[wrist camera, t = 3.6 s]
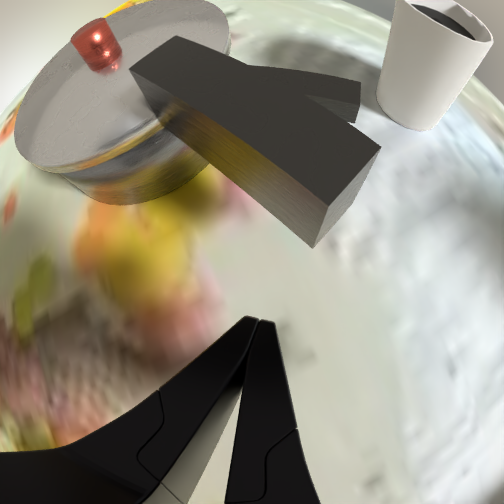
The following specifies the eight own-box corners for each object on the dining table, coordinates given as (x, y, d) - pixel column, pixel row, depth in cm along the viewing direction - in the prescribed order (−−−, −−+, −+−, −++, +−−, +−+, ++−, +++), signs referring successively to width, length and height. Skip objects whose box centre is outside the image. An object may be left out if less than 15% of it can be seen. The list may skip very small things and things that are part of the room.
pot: (330, 248, 17) (353, 210, 11) (25, 190, 21) (-16, 164, 15) (350, 77, 20) (361, 22, 14) (91, 71, 24) (67, 37, 18)
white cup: (443, 148, 18) (504, 61, 8) (365, 116, 19) (397, 8, 9) (441, 94, 19) (482, 15, 9) (374, 67, 20) (396, -23, 11)
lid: (186, 381, 10) (132, 409, 6) (10, 115, 16) (-19, 89, 12) (421, 119, 12) (453, 61, 8) (148, -1, 18) (134, -34, 13)
